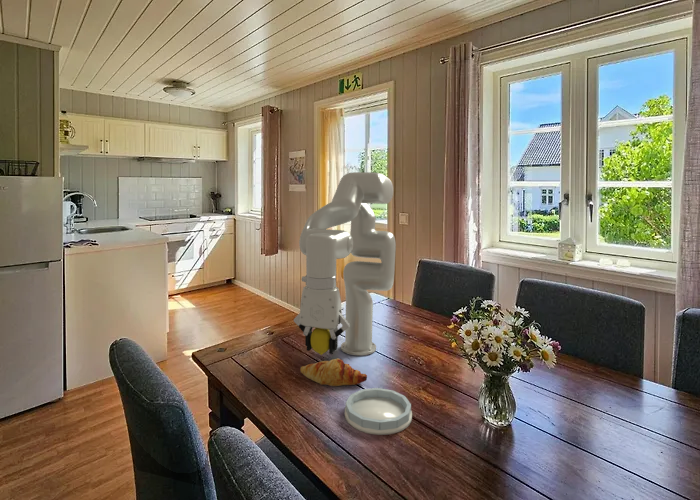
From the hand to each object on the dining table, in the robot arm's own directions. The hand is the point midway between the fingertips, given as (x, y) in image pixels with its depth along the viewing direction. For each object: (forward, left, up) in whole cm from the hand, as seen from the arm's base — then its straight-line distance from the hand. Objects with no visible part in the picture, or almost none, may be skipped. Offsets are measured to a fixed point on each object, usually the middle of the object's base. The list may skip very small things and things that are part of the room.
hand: (321, 349), depth 106 cm
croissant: (-15, -2, -16) cm, 22 cm away
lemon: (0, 0, -2) cm, 2 cm away
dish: (0, +15, -15) cm, 22 cm away
